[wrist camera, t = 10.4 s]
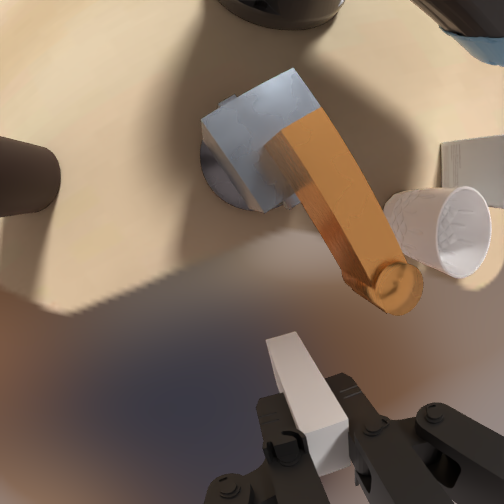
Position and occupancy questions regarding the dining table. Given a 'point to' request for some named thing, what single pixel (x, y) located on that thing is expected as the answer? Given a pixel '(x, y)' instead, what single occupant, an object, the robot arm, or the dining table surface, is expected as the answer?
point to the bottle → (26, 177)
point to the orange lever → (311, 183)
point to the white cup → (442, 227)
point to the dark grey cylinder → (220, 180)
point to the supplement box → (476, 166)
